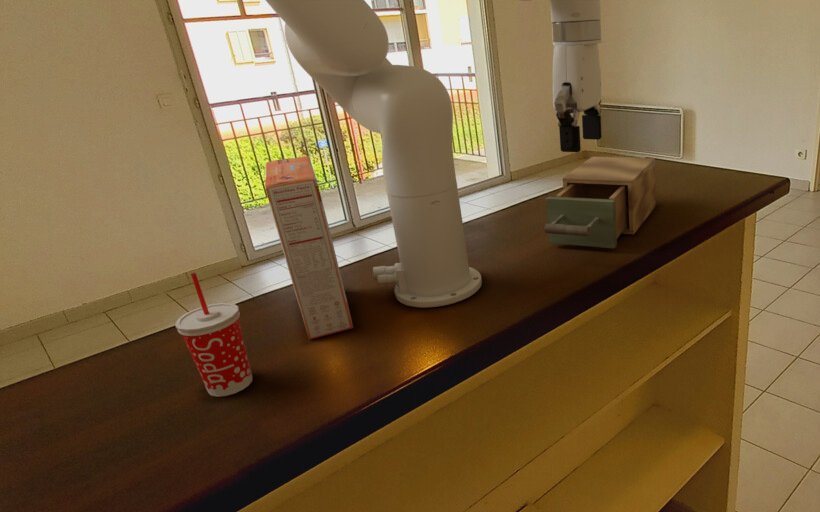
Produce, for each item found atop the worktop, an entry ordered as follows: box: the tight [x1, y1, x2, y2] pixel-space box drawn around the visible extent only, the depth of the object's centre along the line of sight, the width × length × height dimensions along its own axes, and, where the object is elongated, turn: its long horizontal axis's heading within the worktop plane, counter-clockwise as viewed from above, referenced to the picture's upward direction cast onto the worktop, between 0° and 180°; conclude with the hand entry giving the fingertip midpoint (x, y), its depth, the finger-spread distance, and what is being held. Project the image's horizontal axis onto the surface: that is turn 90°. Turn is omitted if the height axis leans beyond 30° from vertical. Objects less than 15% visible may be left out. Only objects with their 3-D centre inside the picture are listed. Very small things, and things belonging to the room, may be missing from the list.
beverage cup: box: [174, 272, 253, 398], centre depth 67 cm, size 6×6×14 cm
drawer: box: [544, 183, 629, 249], centre depth 102 cm, size 21×11×8 cm, turn 159°
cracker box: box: [264, 155, 354, 340], centre depth 81 cm, size 14×6×21 cm, turn 25°
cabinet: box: [562, 156, 657, 235], centre depth 113 cm, size 16×13×10 cm
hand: (581, 145), depth 100 cm, fingers open, 9 cm apart
